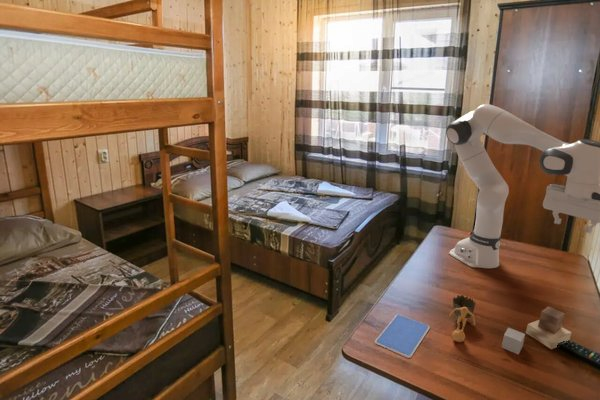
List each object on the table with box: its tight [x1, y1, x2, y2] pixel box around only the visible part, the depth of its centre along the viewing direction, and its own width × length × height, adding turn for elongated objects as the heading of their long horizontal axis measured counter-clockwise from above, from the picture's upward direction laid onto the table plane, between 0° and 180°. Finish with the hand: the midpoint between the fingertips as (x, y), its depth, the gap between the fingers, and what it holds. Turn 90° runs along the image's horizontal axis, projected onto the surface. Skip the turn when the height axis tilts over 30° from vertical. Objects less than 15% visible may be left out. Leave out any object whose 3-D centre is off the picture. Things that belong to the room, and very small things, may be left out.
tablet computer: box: [374, 314, 431, 359], centre depth 131 cm, size 19×13×1 cm, turn 143°
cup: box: [452, 295, 477, 323], centre depth 138 cm, size 8×7×8 cm
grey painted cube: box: [501, 327, 526, 355], centre depth 124 cm, size 5×5×5 cm
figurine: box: [448, 307, 476, 343], centre depth 127 cm, size 8×6×12 cm
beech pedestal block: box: [525, 319, 572, 350], centre depth 129 cm, size 9×9×4 cm
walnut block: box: [538, 305, 566, 334], centre depth 128 cm, size 5×5×6 cm
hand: (572, 227), depth 132 cm, fingers open, 8 cm apart
